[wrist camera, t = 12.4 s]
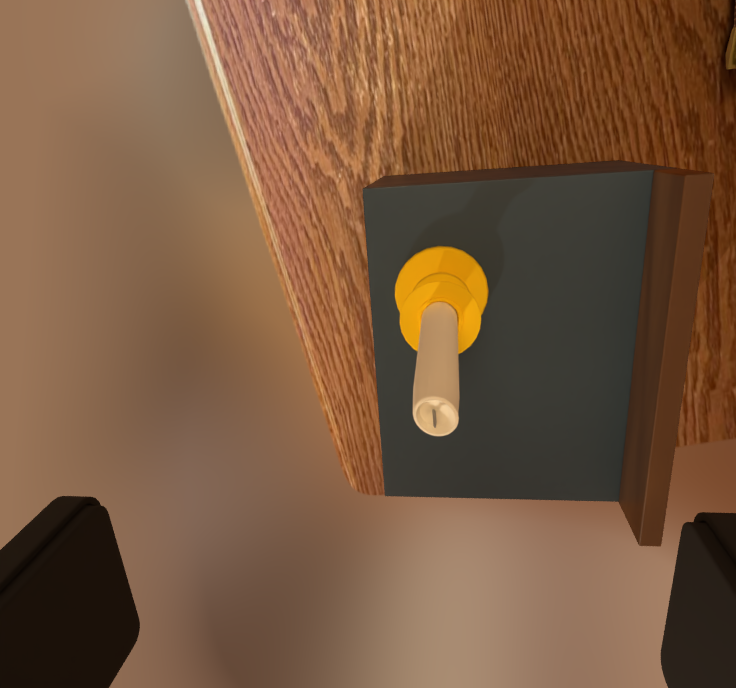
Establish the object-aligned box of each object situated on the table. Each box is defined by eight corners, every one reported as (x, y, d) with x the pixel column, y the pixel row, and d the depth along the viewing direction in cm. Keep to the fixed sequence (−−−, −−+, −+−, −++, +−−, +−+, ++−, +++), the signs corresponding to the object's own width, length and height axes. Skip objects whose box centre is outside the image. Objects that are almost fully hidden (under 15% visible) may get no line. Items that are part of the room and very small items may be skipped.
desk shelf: (397, 423, 46) (377, 536, 33) (382, 176, 39) (349, 195, 26) (597, 424, 43) (661, 547, 30) (619, 160, 36) (715, 172, 23)
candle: (412, 345, 32) (384, 513, 18) (382, 263, 31) (325, 374, 16) (498, 319, 31) (543, 477, 17) (472, 232, 29) (496, 323, 15)
